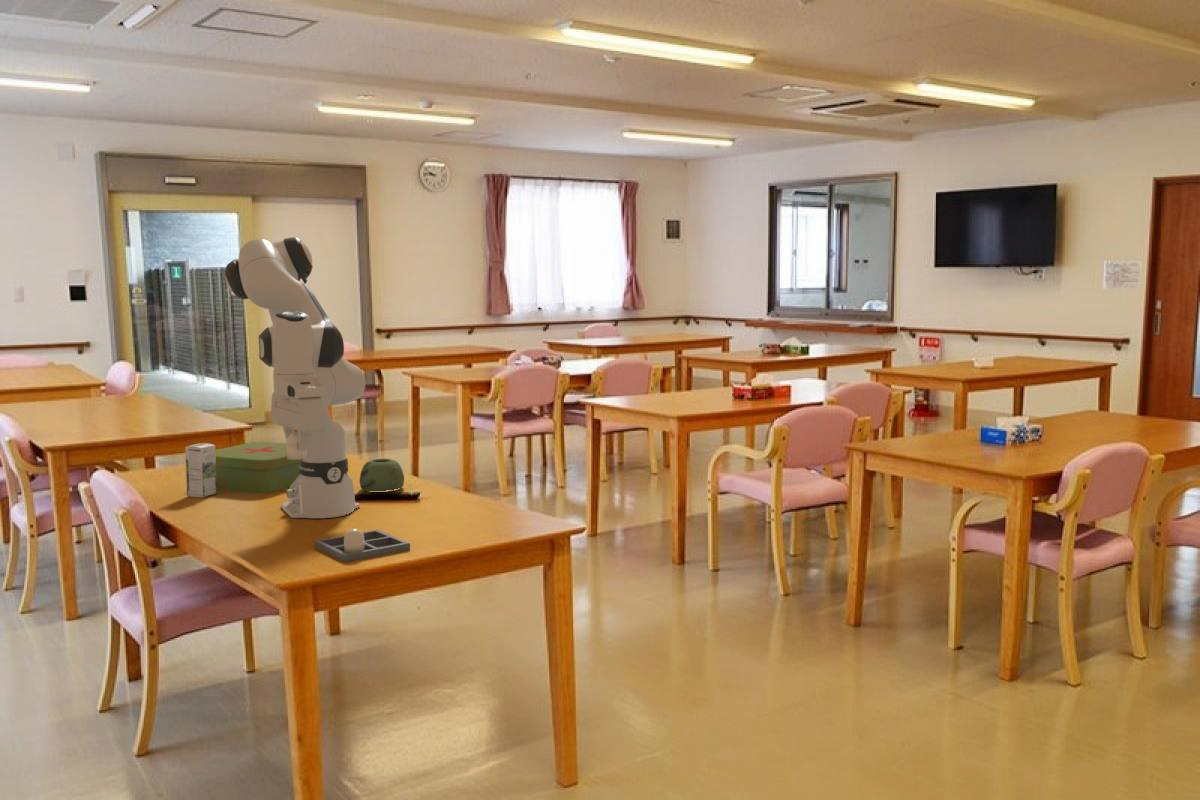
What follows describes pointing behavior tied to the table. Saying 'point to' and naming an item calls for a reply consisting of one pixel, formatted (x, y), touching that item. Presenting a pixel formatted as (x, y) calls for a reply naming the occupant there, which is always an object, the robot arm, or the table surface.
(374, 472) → the green pot
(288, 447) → the egg
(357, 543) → the resting egg
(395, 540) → the carton
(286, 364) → the robot arm
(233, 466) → the first aid kit
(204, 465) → the syrup box
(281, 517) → the table surface
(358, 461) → the table surface
